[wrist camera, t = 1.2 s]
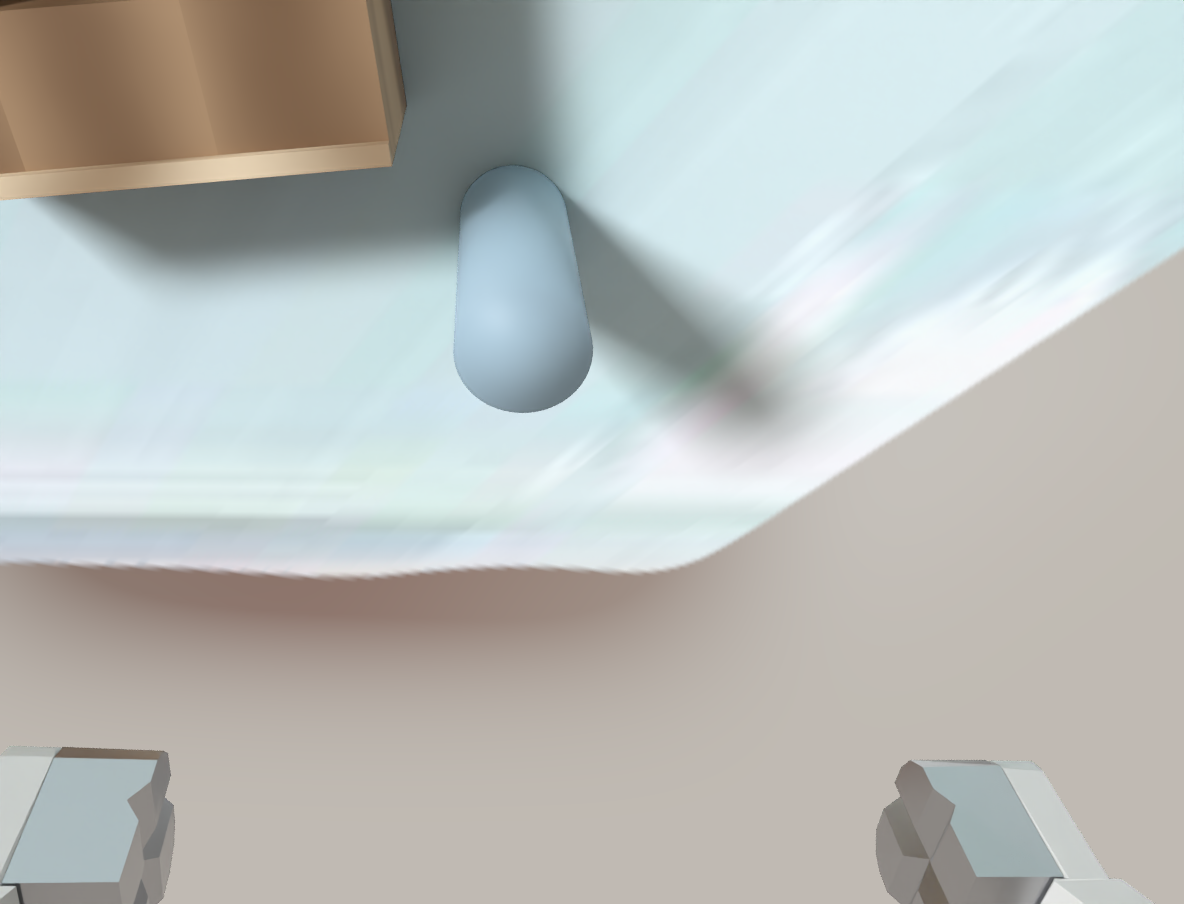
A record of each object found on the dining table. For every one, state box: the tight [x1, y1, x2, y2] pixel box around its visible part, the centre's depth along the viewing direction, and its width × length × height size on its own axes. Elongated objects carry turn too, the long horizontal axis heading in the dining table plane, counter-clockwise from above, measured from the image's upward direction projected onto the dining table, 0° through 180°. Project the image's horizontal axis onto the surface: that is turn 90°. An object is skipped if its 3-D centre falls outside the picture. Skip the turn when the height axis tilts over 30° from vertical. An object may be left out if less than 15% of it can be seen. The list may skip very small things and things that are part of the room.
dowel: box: [454, 165, 593, 413], centre depth 31 cm, size 4×4×10 cm
